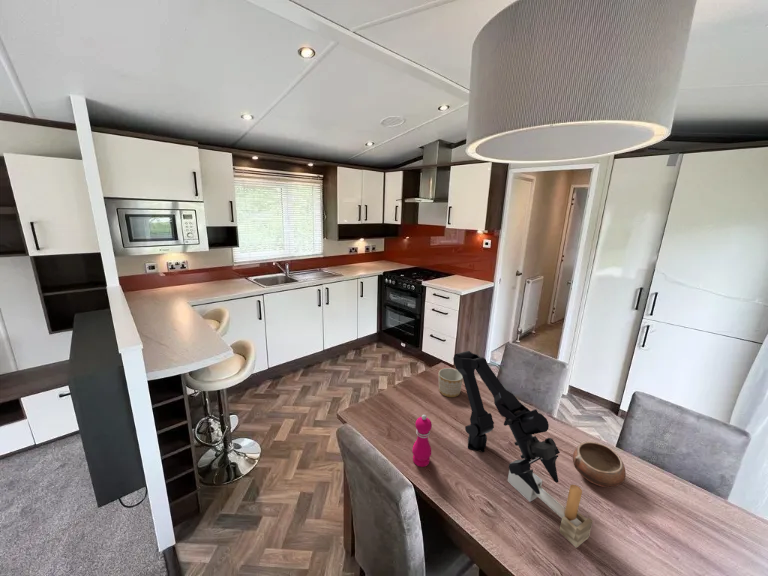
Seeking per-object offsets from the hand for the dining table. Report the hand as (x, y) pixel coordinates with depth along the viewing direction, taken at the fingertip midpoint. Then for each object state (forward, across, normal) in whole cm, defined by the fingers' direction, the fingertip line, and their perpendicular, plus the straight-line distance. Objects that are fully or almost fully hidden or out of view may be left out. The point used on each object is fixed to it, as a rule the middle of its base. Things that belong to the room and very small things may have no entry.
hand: (548, 487), depth 97 cm
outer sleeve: (0, 0, +11) cm, 11 cm away
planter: (-40, +15, +52) cm, 67 cm away
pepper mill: (-18, -25, +30) cm, 43 cm away
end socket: (+12, 0, -1) cm, 12 cm away
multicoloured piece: (+6, 0, +2) cm, 6 cm away
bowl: (+6, +28, +5) cm, 29 cm away
